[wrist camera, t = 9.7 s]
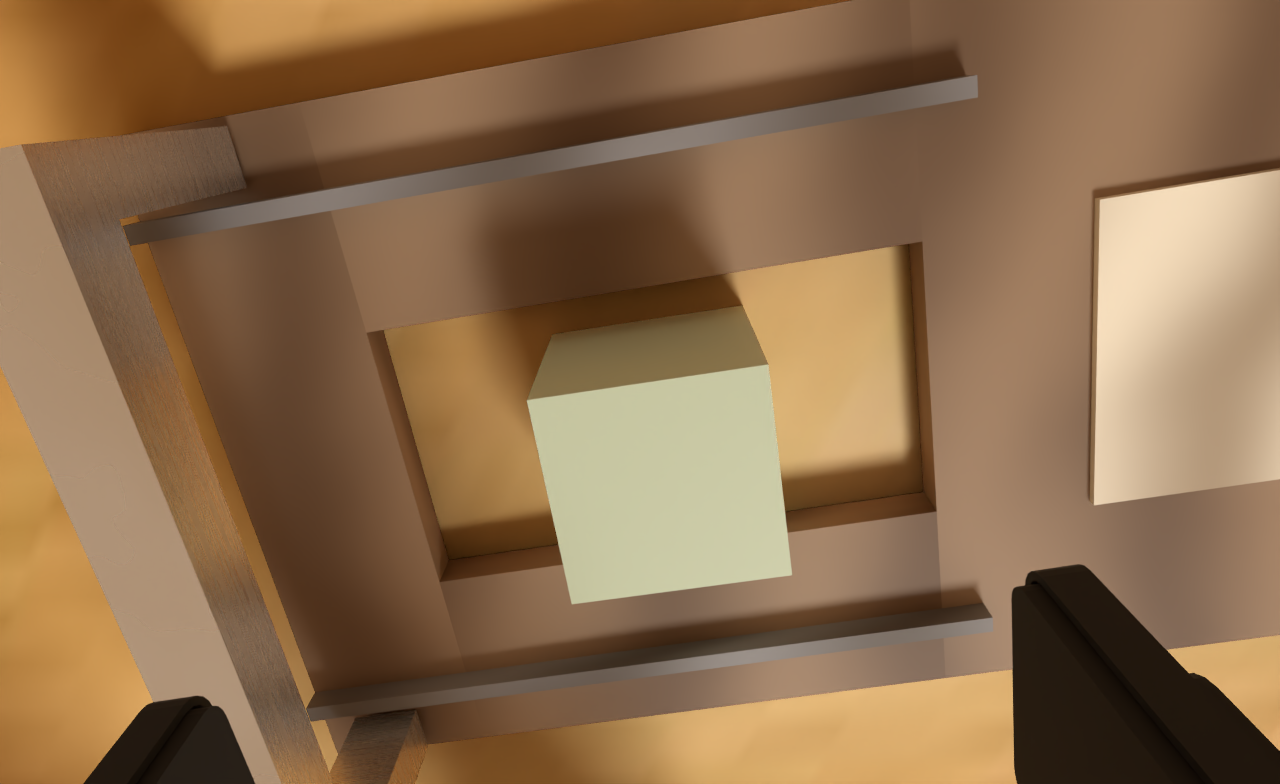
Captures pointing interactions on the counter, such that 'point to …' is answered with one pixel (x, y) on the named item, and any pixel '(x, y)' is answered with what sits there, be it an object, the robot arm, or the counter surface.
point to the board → (755, 238)
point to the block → (661, 455)
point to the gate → (152, 446)
